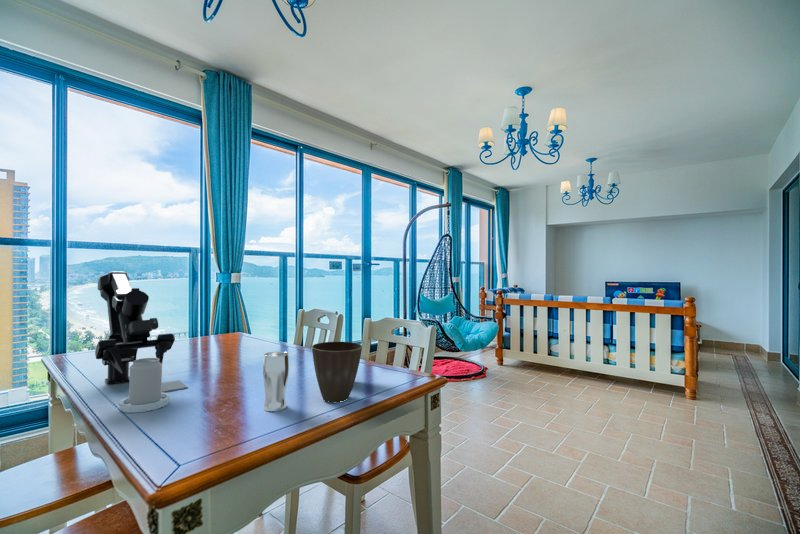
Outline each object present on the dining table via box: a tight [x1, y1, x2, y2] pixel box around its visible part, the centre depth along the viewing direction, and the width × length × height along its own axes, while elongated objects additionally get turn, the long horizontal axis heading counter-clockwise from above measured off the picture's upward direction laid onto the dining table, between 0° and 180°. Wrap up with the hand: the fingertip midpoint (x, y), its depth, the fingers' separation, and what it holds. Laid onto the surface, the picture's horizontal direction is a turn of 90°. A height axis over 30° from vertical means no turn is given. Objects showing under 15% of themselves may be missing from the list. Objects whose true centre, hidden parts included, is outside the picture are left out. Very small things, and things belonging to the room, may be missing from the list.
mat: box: [161, 380, 189, 393], centre depth 121 cm, size 10×10×1 cm
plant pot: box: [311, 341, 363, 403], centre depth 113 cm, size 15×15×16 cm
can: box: [128, 357, 163, 405], centre depth 105 cm, size 8×8×12 cm
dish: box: [118, 392, 171, 414], centre depth 105 cm, size 11×11×2 cm
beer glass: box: [262, 351, 290, 413], centre depth 105 cm, size 7×7×15 cm
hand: (142, 369), depth 108 cm, fingers open, 9 cm apart
